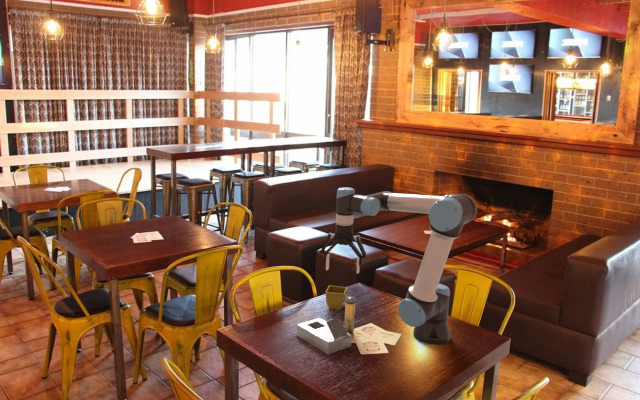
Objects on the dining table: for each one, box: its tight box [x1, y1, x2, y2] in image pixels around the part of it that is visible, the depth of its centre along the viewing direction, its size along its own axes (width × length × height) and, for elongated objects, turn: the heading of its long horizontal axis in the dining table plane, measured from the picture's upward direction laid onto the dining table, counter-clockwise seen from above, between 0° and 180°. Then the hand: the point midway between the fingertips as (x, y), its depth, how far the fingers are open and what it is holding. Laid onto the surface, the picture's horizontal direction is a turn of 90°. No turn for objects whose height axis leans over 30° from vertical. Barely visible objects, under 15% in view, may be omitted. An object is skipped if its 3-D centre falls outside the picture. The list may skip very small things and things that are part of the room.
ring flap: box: [326, 317, 349, 342], centre depth 222 cm, size 9×7×1 cm
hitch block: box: [296, 317, 353, 355], centre depth 230 cm, size 20×12×5 cm, turn 40°
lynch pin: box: [343, 295, 356, 336], centre depth 236 cm, size 4×4×16 cm
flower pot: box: [325, 285, 348, 311], centre depth 264 cm, size 9×9×9 cm
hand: (342, 271), depth 247 cm, fingers open, 13 cm apart
